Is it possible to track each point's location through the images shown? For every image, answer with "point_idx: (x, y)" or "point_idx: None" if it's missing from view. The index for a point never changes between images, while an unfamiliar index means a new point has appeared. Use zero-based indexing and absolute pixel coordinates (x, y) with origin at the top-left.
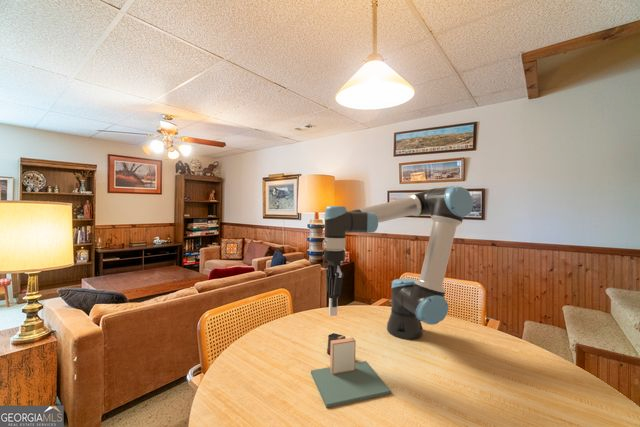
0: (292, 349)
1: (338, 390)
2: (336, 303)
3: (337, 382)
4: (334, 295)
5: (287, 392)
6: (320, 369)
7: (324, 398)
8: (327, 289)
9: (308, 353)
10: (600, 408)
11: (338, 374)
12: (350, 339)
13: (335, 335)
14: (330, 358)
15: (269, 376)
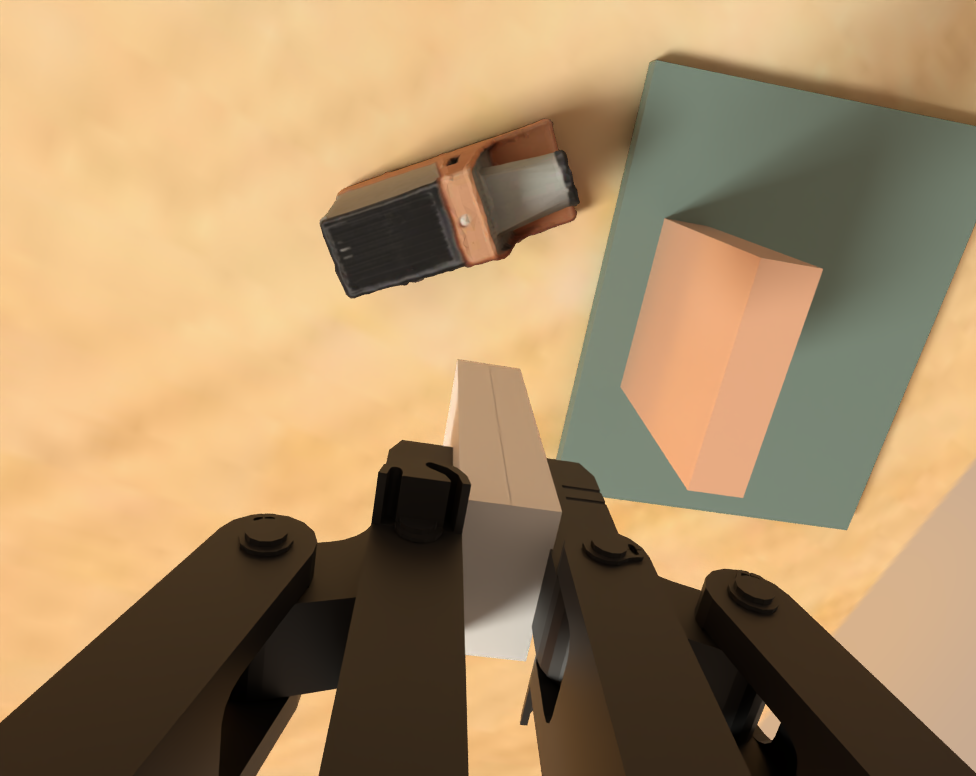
0: (224, 485)
1: (803, 430)
2: (602, 511)
3: None
4: (763, 760)
5: None
6: (574, 434)
7: (807, 521)
8: (238, 723)
9: (321, 405)
10: None
11: None
12: (779, 308)
13: (399, 246)
14: (645, 421)
15: (467, 673)
